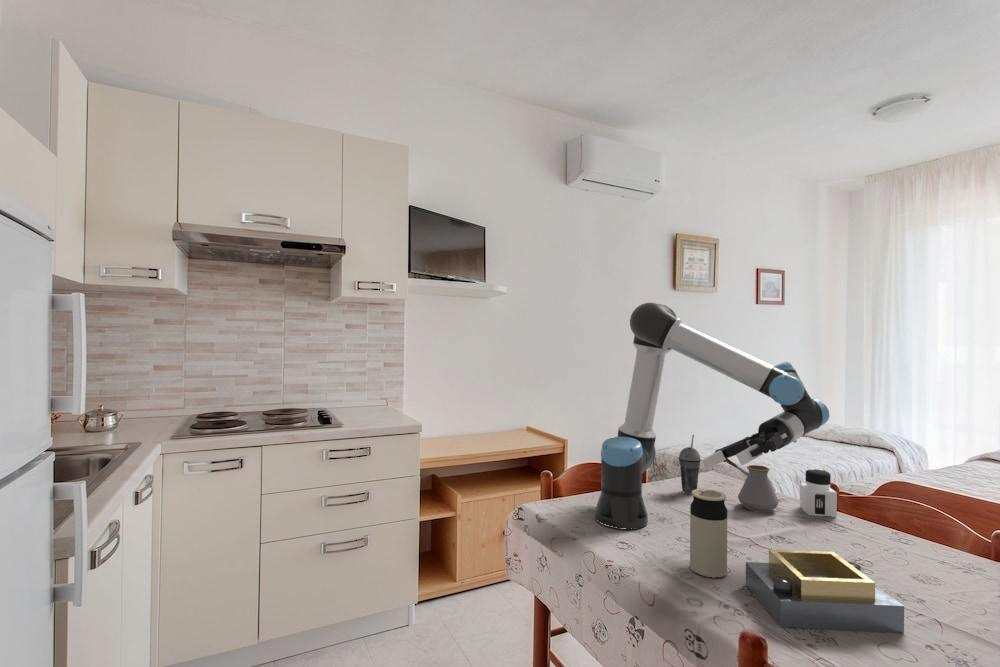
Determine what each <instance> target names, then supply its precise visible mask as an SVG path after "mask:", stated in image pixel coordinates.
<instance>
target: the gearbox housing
mask: <svg viewBox="0 0 1000 667" xmlns="http://www.w3.org/2000/svg"><path fill="white" fill-rule="evenodd" d="M861 568H862V567H861V565H860V564H859V563H856V562H854V561H847V560H845V559H844V558H843V557H842V556H839V554H837V553H836V552H834V551H825V550H823V551H822V550H798V549H797V550H796V549H793V550H792V549H771V548H770V549H769V548H768V562H758V561H756V562H754V561H751V562H750V561H745V587H747V588H748V589H749V591H750V590H751V591H750V592H751V593H752V594H753V596H756V597H757V598H756V597H755V598H756V599H757V601H758V602H759V603H760V602H761V603H760V604H761V605H762V607H763V608H764V607H765V608H766V609H765V608H764V609H765V611H767V612H768V614H769V613H770V614H771V615H770V614H769V615H770V616H771V617H772V619H775V620H776V621H775V620H774V621H775V622H776V623H777V625H780V626H781V627H780V626H779V627H780V628H785V627H797V628H796V629H811V630H831V631H832V630H833V631H834V630H835V631H850V630H854V631H853V632H855V631H856V632H872V631H881V632H880V633H894V632H904V633H905V605H903V603H901V602H899V601H898V600H897V599H896V598H894V597H893V596H891V595H890V594H889V593H887V592H886V591H885V590H883V589H882V588H881V587H880V586H878V585H877V584H876V582H875V581H874V580H872V579H871V578H869V577H868V576H867V575H866V574H864V573H863V572H862V571H861V570H862V569H861ZM782 626H783V627H782Z"/></svg>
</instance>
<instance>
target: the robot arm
mask: <svg viewBox="0 0 1000 667" xmlns="http://www.w3.org/2000/svg"><path fill="white" fill-rule="evenodd" d="M629 327H630V330H631V332H632V333H633V335H634V337H633V343H632V344H633V346H634V347H635V349H636V354H635V361H634V366H633V371H632V372H633V373H632V377H631V383H630V389H629V395H628V399H627V400H628V402H627V407H626V412H625V413H626V414H625V419H624V423H623V424H621V425H620V426H619V427H618V430H617V436H613V437H610V438H607V439H605V440H604V441H603V442H602V444H601V450H600V456H601V457H600V458H601V459H600V460H601V461H600V462H601V464H600V467H601V470H600V471H601V472H600V475H601V477H600V481H601V482H600V484H601V485H600V486H601V487H600V488H601V489H600V494H599V497H598V500H597V504H596V506H595V511H594V519H595V518H596V519H597V520H598V521H599V522H601V523H603V524H606V525H609V526H613V527H617V528H626V529H631V528H632V529H633V530H635V529H634V528H639V529H642V528H641V527H643V528H645V527H646V526H647V525H648V524H649V518H648V517H649V516H648V512H647V508H646V505H645V503H644V502H645V501H644V499H643V498H644V497H643V495H642V494H643V492H642V490H643V481H642V480H643V474H644V473H645V472H646V471H647V470H648V469H649V468H650V467H651V466H652V465H653V463H654V461H655V458H656V446H655V444H656V438H657V434H656V433H655V432H654V430H653V426H654V419H655V415H656V410H657V409H656V408H657V404H658V403H657V402H658V398H659V391H660V387H661V380H662V375H663V374H662V373H663V370H664V369H663V368H664V363H665V358H666V355H667V354H668V353H670V352H672V350H673V351H675V352H677V353H679V354H682V355H683V356H685V357H688V358H689V359H691V360H693V361H696V362H697V363H700V364H702V365H703V366H705V367H708V368H710V369H712V370H714V371H716V372H719V373H720V374H722V375H724V376H726V377H728V378H731V379H732V380H734V381H737V382H739V383H740V384H743V385H745V386H747V387H748V388H751V389H752V390H755V391H757V392H759V393H761V394H763V395H765V396H766V397H769V398H770V399H772V400H773V401H774V402H775V403H777V404H779V405H780V407H781V408H782V410H783V411H782V412H781V413H779V414H776V415H774V416H773V417H772V418H769V419H768V420H765V421H763V422H762V423H760V424H759V426H758V428H757V430H758V431H757V433H753V434H752V435H751V436H750V435H749V436H746V437H744V438H742V439H740V440H737V441H736V442H733V443H731V444H729V445H726V446H723V447H721V448H717V449H716V450H715V451H716V453H715V452H713V453H714V454H713V453H712V454H710V455H708V456H706V457H704V458H702V459H701V461H700V462H702V464H703V466H704V469H705V470H710V469H711V468H713V467H715V466H717V465H719V464H721V463H727V462H726V461H725V460H726V458H728V459H729V458H731V457H734V456H736V458H737V459H738V461H739V463H740V465H741V466H744V465H746V464H748V463H749V462H752V461H754V460H756V459H757V458H759V457H762V455H763V454H768V453H770V452H772V453H773V452H775V451H777V450H781V449H783V448H784V447H786V446H788V445H789V444H791V443H794V444H796V443H798V439H800V438H802V437H804V436H805V435H806V436H807V434H809V433H812V432H813V431H815V430H818V429H819V428H820V427H821V426H823V425H826V423H827V422H828V421H829V420H830V419H829V418H830V410H829V408H828V407H827V405H826V404H824V402H822V401H821V400H820V399H817V398H811V396H810V395H809V393H808V391H807V389H806V387H805V385H804V384H803V381H802V380H801V378H800V376H799V374H798V373H797V370H796V369H795V368H794V366H793V365H792V363H791V362H790V361H784V362H781V363H778V364H776V365H771V364H769V363H767V362H765V361H763V360H760V359H758V358H756V357H754V356H752V355H750V354H749V353H745V352H744V351H741V350H739V349H737V348H735V347H733V346H730V345H729V344H726V343H724V342H722V341H720V340H718V339H716V338H713V337H711V336H709V335H707V334H705V333H702V332H701V331H699V330H696V329H694V328H692V327H689V326H687V325H686V324H683V322H682V320H681V318H679V317H677V314H676V312H675V311H674V310H673V309H672V308H671V307H669V306H668V305H665V304H661V303H656V302H646V303H645V302H644V303H642V304H640V305H638V306H637V307H636V308H635V309H634V310H633V311H632V312H631V314H630V318H629ZM647 523H648V524H647ZM645 525H646V526H645ZM644 526H645V527H644Z"/></svg>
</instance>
